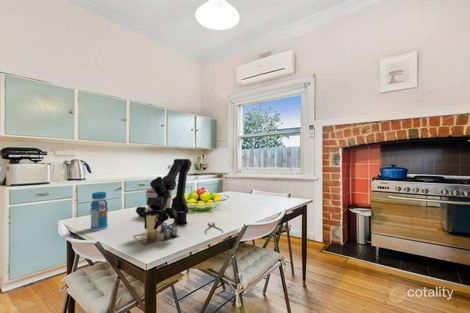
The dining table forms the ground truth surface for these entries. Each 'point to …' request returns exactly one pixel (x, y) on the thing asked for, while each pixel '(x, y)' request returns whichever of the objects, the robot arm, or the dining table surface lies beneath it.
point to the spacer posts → (168, 231)
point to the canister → (152, 194)
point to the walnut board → (143, 238)
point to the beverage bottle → (99, 211)
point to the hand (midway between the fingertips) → (150, 229)
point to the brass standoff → (151, 228)
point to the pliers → (212, 226)
